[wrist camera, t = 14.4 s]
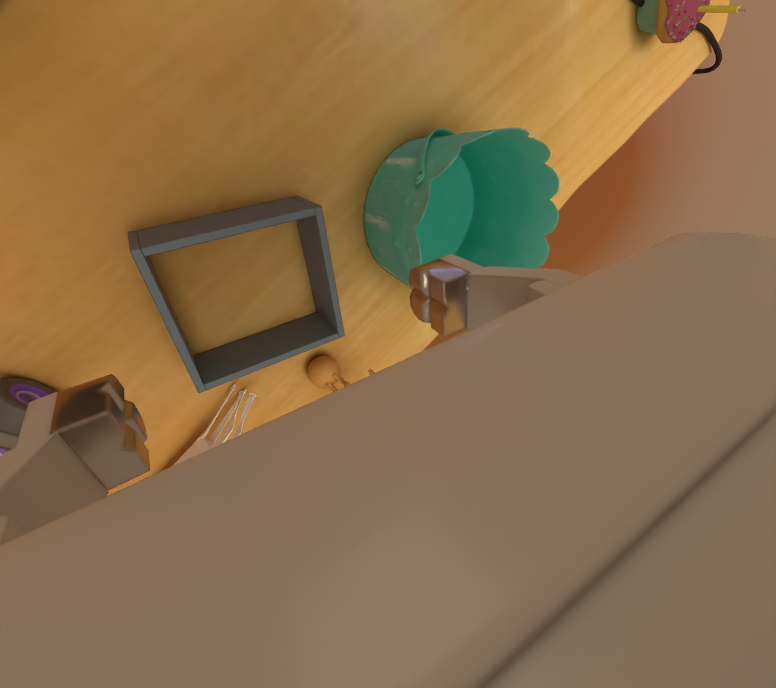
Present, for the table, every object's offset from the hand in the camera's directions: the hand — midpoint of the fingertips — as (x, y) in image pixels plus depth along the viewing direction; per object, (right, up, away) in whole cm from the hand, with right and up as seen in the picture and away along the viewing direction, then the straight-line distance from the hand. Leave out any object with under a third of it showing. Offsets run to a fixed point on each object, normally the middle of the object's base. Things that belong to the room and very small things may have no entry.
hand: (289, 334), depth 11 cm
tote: (-12, +6, +29) cm, 32 cm away
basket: (+7, +16, +37) cm, 41 cm away
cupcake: (+38, +46, +42) cm, 73 cm away
